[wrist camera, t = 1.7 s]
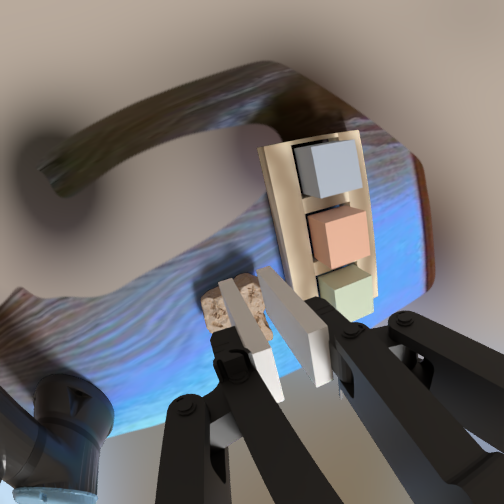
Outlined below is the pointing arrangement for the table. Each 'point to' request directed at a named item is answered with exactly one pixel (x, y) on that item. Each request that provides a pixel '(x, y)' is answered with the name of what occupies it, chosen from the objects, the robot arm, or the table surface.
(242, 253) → the table surface
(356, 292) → the sage block
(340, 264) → the terracotta block
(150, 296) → the table surface
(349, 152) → the slate block
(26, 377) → the table surface
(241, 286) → the stone
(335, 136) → the socket board
